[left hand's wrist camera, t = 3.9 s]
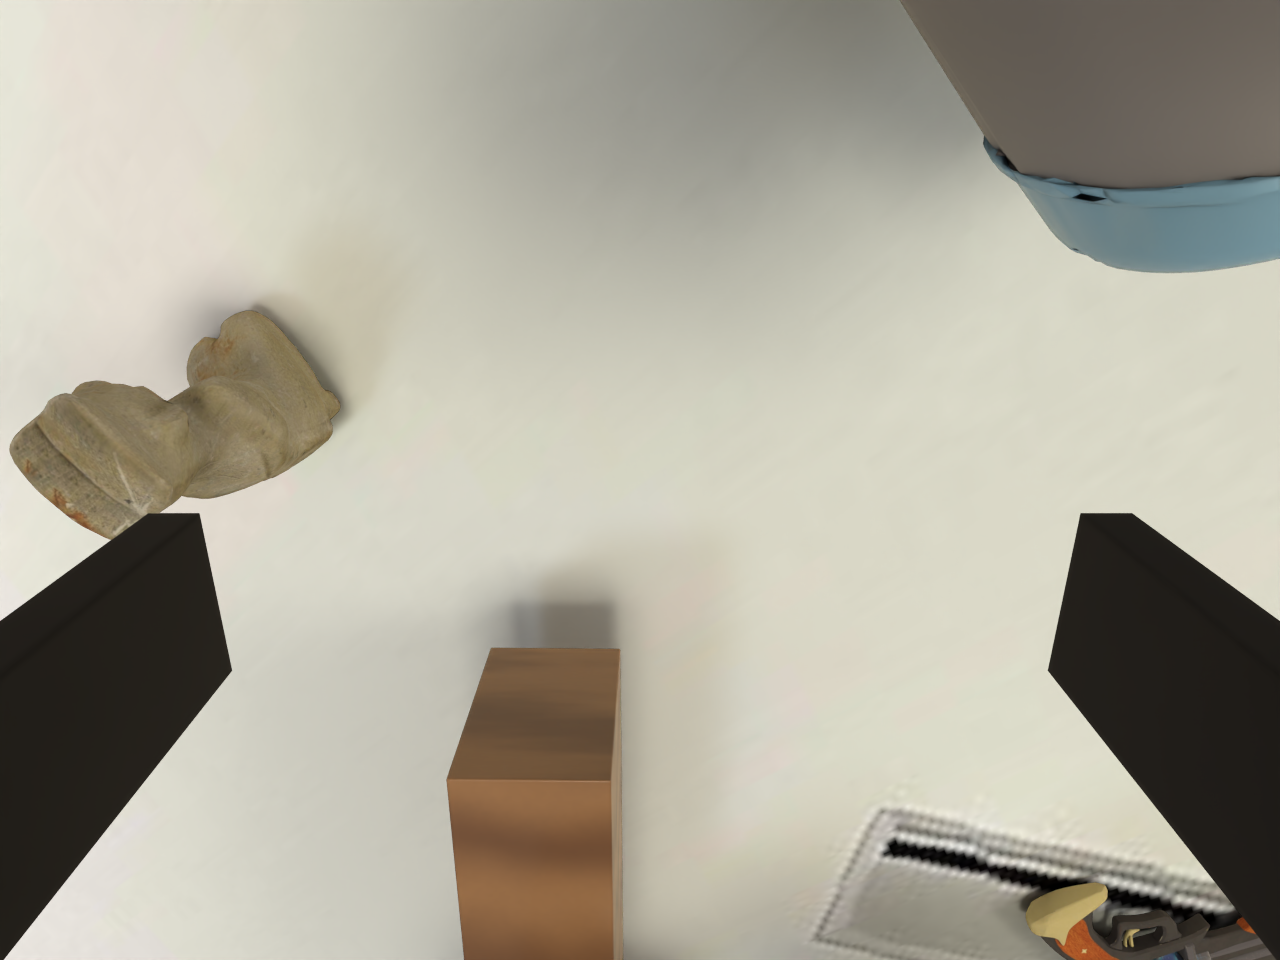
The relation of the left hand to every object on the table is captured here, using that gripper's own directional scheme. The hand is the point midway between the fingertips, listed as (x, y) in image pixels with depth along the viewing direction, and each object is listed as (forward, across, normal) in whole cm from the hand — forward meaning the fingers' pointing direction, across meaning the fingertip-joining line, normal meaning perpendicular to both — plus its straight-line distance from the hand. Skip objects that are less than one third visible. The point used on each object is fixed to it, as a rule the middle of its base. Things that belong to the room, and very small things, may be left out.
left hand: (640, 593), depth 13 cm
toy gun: (+30, +35, -40) cm, 61 cm away
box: (+24, -4, -32) cm, 40 cm away
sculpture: (+30, -18, -4) cm, 35 cm away
